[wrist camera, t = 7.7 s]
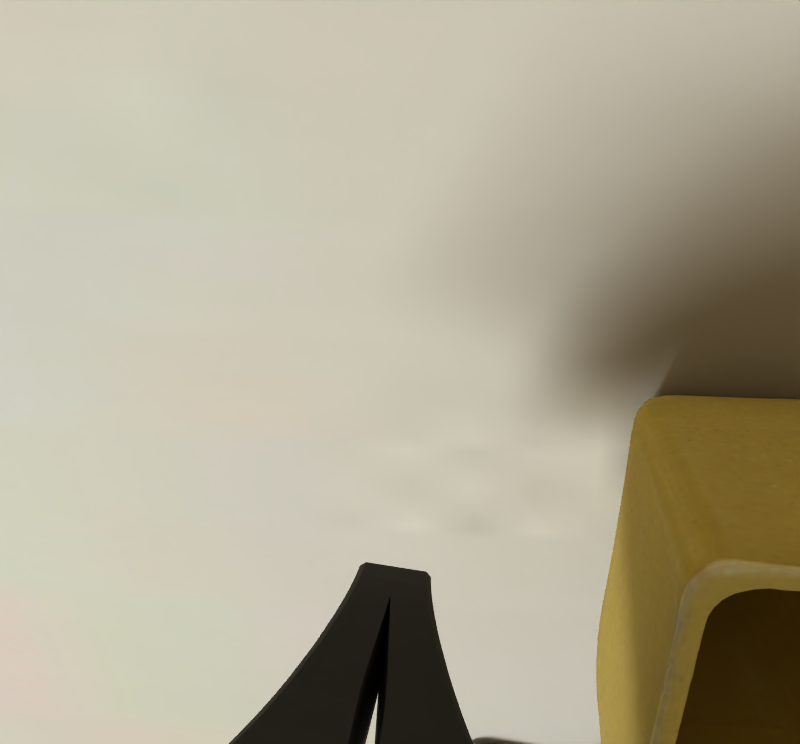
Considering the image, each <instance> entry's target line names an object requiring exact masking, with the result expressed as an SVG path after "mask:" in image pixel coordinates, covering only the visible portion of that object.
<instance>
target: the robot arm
mask: <svg viewBox="0 0 800 744" xmlns="http://www.w3.org/2000/svg"><path fill="white" fill-rule="evenodd" d="M377 695H378V705H377V720H376V734H375V744H473V742H472V739H471V737H470V735H469V732H468V729H467V727H466V724H465V721H464V719H463V716H462V713H461V710H460V707H459V704H458V702H457V699H456V696H455V693H454V690H453V687H452V683H451V680H450V677H449V673H448V670H447V666H446V663H445V659H444V655H443V651H442V648H441V644H440V640H439V635H438V631H437V626H436V621H435V616H434V610H433V603H432V595H431V577H430V576H429V575H428V573H427V572H424V571H418V570H411V569H405V568H399V567H393V566H386V565H380V564H374V563H367V562H366V563H364V564H362V565H361V566H360V567H359V570H358V572H357V574H356V577H355V579H354V581H353V583H352V585H351V587H350V589H349V591H348V592H347V594H346V596H345V598H344V599H343V601H342V603H341V604H340V606H339V608H338V609H337V611H336V613H335V614H334V616H333V617H332V619H331V620H330V622H329V623H328V625H327V626H326V628H325V629H324V631H323V632H322V634H321V635H320V637H319V638H318V640H317V641H316V643H315V644H314V645H313V647H312V648H311V650H310V651H309V652H308V653H307V655H306V656H305V657H304V659H303V660H302V661H301V663H300V664H299V665H298V667H297V668H296V669H295V671H294V672H293V673H292V674H291V676H290V677H289V678H288V679H287V681H286V682H285V683H284V684H283V685H282V687H281V688H280V689H279V690H278V691H277V693H276V694H275V695H274V696H273V697H272V698H271V700H270V701H269V702H268V703H267V704H266V705H265V706H264V707H263V709H262V710H261V711H260V712H259V713H258V714H257V715H256V716H255V717H254V718H253V719H252V720H251V722H250V723H249V724H248V725H247V726H246V727H245V728H244V729H243V730H242V731H241V732H240V733H239V734H238V735H237V736H236V737H235V738H234V739H233V740H232V741H231V742H230V743H229V744H365V743H366V739H367V735H368V731H369V727H370V723H371V719H372V715H373V711H374V707H375V703H376V699H377Z"/></svg>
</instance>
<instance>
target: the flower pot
mask: <svg viewBox="0 0 800 744" xmlns="http://www.w3.org/2000/svg"><path fill="white" fill-rule="evenodd" d="M596 673H597V700H598V711H599V722H600V734H601V744H800V399H770V398H738V397H712V396H689V395H666V396H660V397H655V398H652V399H649V400H648V401H647V402H645V403H644V405H643V406H642V407H641V408H640V409H639V411H638V412H637V415H636V417H635V420H634V425H633V429H632V434H631V441H630V448H629V455H628V462H627V468H626V475H625V481H624V488H623V494H622V500H621V506H620V512H619V518H618V524H617V530H616V536H615V542H614V548H613V554H612V559H611V564H610V570H609V575H608V580H607V586H606V591H605V595H604V600H603V605H602V612H601V618H600V625H599V634H598V646H597V672H596Z"/></svg>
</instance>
